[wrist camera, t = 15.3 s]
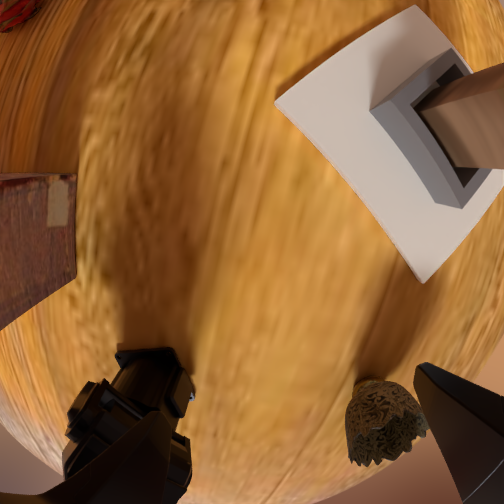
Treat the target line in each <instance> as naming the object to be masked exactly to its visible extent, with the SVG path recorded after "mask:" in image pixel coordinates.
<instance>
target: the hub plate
mask: <svg viewBox="0 0 504 504" xmlns="http://www.w3.org/2000/svg"><path fill="white" fill-rule="evenodd" d="M473 73H474V72H473V71H472V70H471V68H470V67H469V65H468V64H467V63H466V61H465V60H464V59H463V57H462V56H461V55H460V53H459V52H458V51H457V49H456V48H455V47H454V46H453V44H452V43H451V42H450V41H449V40H448V38H447V37H446V36H445V35H444V34H443V33H442V32H441V30H440V29H439V28H438V27H437V26H436V25H435V24H434V23H433V22H432V21H431V20H430V18H429V17H428V16H427V15H426V14H425V13H424V12H423V11H422V10H421V9H420V8H419V7H418V6H417V5H413V6H411V7H409V8H407V9H405V10H404V11H402V12H400V13H398V14H396V15H395V16H393V17H391V18H390V19H388V20H386V21H385V22H383V23H381V24H380V25H378V26H376V27H375V28H373V29H372V30H370V31H368V32H367V33H365V34H364V35H362V36H361V37H359V38H358V39H356V40H355V41H353V42H352V43H350V44H349V45H347V46H346V47H344V48H343V49H342V50H340V51H339V52H337V53H336V54H334V55H333V56H332V57H330V58H329V59H328V60H326V61H325V62H323V63H322V64H321V65H319V66H318V67H317V68H315V69H314V70H313V71H312V72H310V73H309V74H308V75H306V76H305V77H304V78H303V79H301V80H300V81H299V82H297V83H296V84H295V85H294V86H293V87H291V88H290V89H289V90H288V91H286V92H285V93H284V94H283V95H282V96H280V97H279V98H278V99H277V100H276V101H275V103H274V105H275V106H276V107H277V108H278V109H279V110H280V111H281V112H282V113H283V114H284V115H285V116H286V117H287V118H288V119H289V120H290V121H291V122H292V123H293V124H294V125H295V126H296V127H297V128H298V129H299V130H300V131H301V132H302V133H303V134H304V135H305V136H306V137H307V138H308V139H309V140H310V141H311V142H312V144H313V145H314V146H315V147H316V148H317V149H318V150H319V151H320V152H321V153H322V154H323V155H324V157H325V158H326V159H327V160H328V161H329V162H330V163H331V164H332V166H333V167H334V168H335V169H336V170H337V171H338V173H339V174H340V175H341V176H342V177H343V178H344V180H345V181H346V182H347V183H348V184H349V186H350V187H351V188H352V189H353V190H354V192H355V193H356V194H357V195H358V197H359V198H360V199H361V200H362V202H363V203H364V204H365V206H366V207H367V208H368V209H369V211H370V212H371V213H372V215H373V216H374V217H375V219H376V220H377V221H378V223H379V224H380V225H381V227H382V228H383V229H384V231H385V232H386V234H387V235H388V236H389V238H390V239H391V241H392V242H393V243H394V245H395V246H396V248H397V249H398V251H399V252H400V254H401V255H402V257H403V258H404V260H405V261H406V263H407V264H408V266H409V267H410V269H411V270H412V272H413V273H414V275H415V277H416V278H417V280H418V281H420V282H421V283H422V284H424V283H425V282H426V281H427V280H428V279H429V278H430V277H431V276H432V275H433V273H434V272H435V271H436V270H437V269H438V268H439V267H440V266H441V265H442V264H443V263H444V262H445V260H446V259H447V258H448V257H449V256H450V255H451V254H452V253H453V251H454V250H455V249H456V248H457V247H458V246H459V244H460V243H461V242H462V241H463V240H464V239H465V237H466V236H467V235H468V234H469V232H470V231H471V230H472V229H473V227H474V226H475V225H476V224H477V222H478V221H479V220H480V218H481V217H482V216H483V214H484V213H485V212H486V210H487V209H488V208H489V206H490V205H491V203H492V202H493V201H494V199H495V198H496V196H497V195H498V193H499V192H500V190H501V189H502V187H503V186H504V170H502V169H489V168H470V167H452V166H451V165H450V163H449V161H448V159H447V158H446V156H445V155H444V153H443V151H442V150H441V148H440V147H439V145H438V143H437V142H436V140H435V139H434V137H433V136H432V134H431V133H430V131H429V130H428V129H427V127H426V126H425V124H424V123H423V122H422V120H421V119H420V117H419V116H418V115H417V113H416V112H415V111H414V109H413V108H414V107H415V106H416V105H417V104H418V103H419V102H420V101H421V100H422V99H423V98H424V97H425V96H426V95H427V94H428V93H430V92H431V91H432V90H433V89H435V88H437V87H440V86H442V85H444V84H447V83H449V82H452V81H454V80H457V79H459V78H462V77H465V76H467V75H470V74H473Z"/></svg>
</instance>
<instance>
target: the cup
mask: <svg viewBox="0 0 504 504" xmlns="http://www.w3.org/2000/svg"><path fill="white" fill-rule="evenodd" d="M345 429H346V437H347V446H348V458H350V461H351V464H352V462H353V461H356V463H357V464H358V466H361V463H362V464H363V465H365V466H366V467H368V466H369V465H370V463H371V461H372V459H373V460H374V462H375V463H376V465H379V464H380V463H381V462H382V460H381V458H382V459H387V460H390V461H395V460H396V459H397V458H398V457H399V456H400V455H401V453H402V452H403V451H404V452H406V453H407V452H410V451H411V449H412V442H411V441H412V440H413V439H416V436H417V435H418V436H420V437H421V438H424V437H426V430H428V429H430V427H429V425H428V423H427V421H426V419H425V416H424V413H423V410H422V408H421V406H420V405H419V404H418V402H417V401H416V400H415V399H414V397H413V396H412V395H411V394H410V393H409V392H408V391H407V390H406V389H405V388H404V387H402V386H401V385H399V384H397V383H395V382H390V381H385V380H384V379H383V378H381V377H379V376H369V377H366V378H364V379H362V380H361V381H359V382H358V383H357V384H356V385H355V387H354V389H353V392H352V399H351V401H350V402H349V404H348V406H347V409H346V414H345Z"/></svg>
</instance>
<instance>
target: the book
mask: <svg viewBox="0 0 504 504" xmlns="http://www.w3.org/2000/svg"><path fill="white" fill-rule="evenodd" d="M76 178H77V174H71V173H0V331H1V330H2V329H3V328H5V327H6V326H7V325H9V324H10V323H11V322H13V321H14V320H15V319H17V318H18V317H19V316H21V315H22V314H24V313H25V312H26V311H28V310H29V309H31V308H32V307H33V306H35V305H36V304H38V303H39V302H41V301H42V300H43V299H45V298H46V297H48V296H49V295H51V294H52V293H54V292H55V291H57V290H58V289H60V288H61V287H63V286H64V285H66V284H67V283H69V282H70V281H72V280H73V279H75V278H76V265H75V238H74V219H75V192H76Z"/></svg>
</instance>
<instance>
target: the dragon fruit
mask: <svg viewBox="0 0 504 504" xmlns="http://www.w3.org/2000/svg"><path fill="white" fill-rule="evenodd" d="M39 1H41V0H0V32H1V33H8V32H11V31H12V29H13V26H14V25H16V24H18V23H22V22H24V21H25V20H27V19H28V20H29V19H30V18H31V17H33V16H34V15H35V14H36V13H37V12H38V11H39V10H40V9H41V8H42V7H40V8H38V9H37V8H35V7H34V6H35V4H36V3H38V2H39ZM10 30H11V31H10Z"/></svg>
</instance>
